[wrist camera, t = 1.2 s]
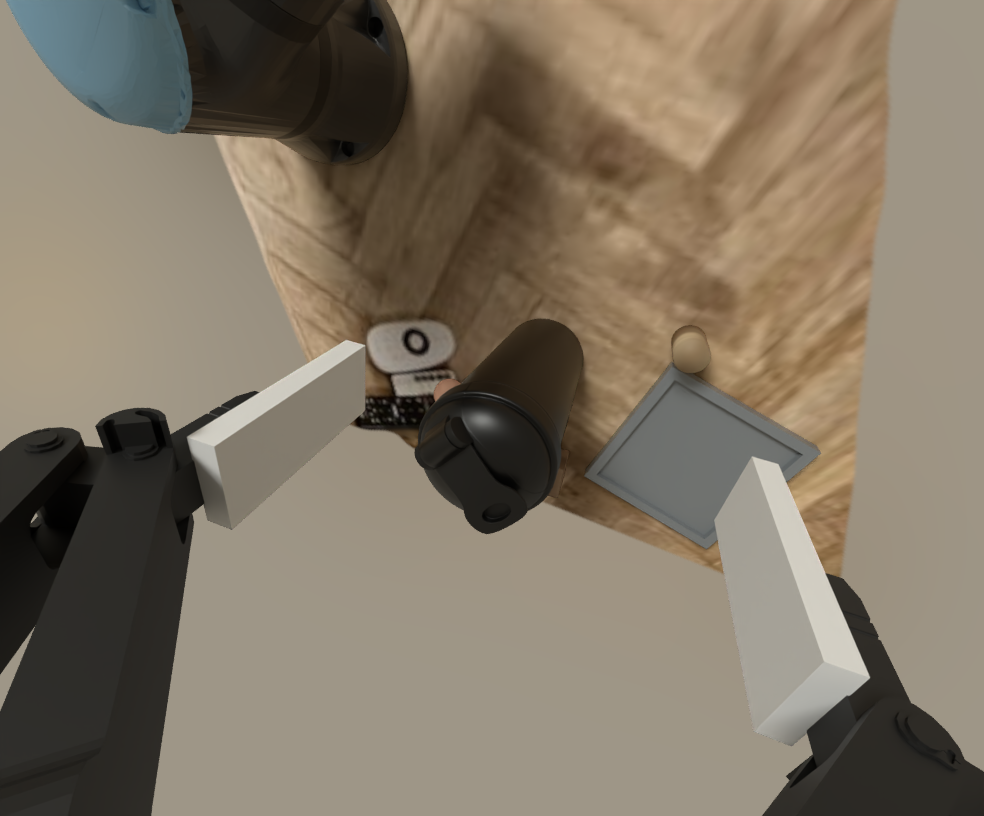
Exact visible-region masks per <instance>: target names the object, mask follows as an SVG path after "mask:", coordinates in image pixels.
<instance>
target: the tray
mask: <svg viewBox="0 0 984 816" xmlns="http://www.w3.org/2000/svg"><path fill="white" fill-rule="evenodd" d="M820 454H821V452H820V450H819V449H818V447H817V446H816V445H814V444H813V443H811V442H809V441H807V440H806V439H804V438H802V437H801V436H799V435H797V434H795V433H794V432H792V431H790V430H788V429H787V428H785V427H783V426H782V425H780V424H778V423H776V422H775V421H773V420H771V419H770V418H768V417H766V416H764V415H763V414H761V413H759V412H757V411H756V410H754V409H752V408H751V407H749V406H747V405H745V404H744V403H742V402H740V401H739V400H737V399H735V398H733V397H732V396H730V395H728V394H726V393H725V392H723V391H721V390H720V389H718V388H716V387H714V386H713V385H711V384H709V383H708V382H706V381H704V380H702V379H701V378H699V377H697V376H695V375H694V374H692V373H685V372H682V371H681V370H679V369H678V368H677V367H676V366H675V364H674V363H673V362H671V363H670V365H669V366H668V367H667V368H666V370H665V371H664V372H663V373H662V375H661V376H660V377H659V378H658V380H657V381H656V382H655V383H654V385H653V386H652V387H651V388H650V390H649V391H648V392H647V393H646V395H645V396H644V397H643V398H642V400H641V401H640V402H639V403H638V405H637V406H636V407H635V408H634V410H633V411H632V412H631V413H630V415H629V416H628V417H627V418H626V420H625V421H624V422H623V423H622V425H621V426H620V427H619V428H618V430H617V431H616V432H615V433H614V435H613V436H612V437H611V438H610V440H609V441H608V442H607V444H606V445H605V446H604V447H603V449H602V450H601V451H600V452H599V454H598V455H597V456H596V457H595V459H594V460H593V461H592V462H591V464H590V465H589V466H588V467H587V469H586V470H585V474H584V476H585V477H586V478H588V479H590V480H592V481H593V482H595V483H597V484H598V485H600V486H602V487H603V488H605V489H607V490H608V491H610V492H612V493H613V494H615V495H617V496H618V497H620V498H622V499H623V500H625V501H627V502H628V503H630V504H632V505H633V506H635V507H637V508H638V509H640V510H642V511H643V512H645V513H647V514H649V515H650V516H652V517H654V518H655V519H657V520H659V521H660V522H662V523H664V524H665V525H667V526H669V527H670V528H672V529H674V530H675V531H677V532H679V533H680V534H682V535H684V536H685V537H687V538H689V539H690V540H692V541H694V542H695V543H697V544H699V545H700V546H702V547H704V548H705V549H707V548H708V547H710V546H711V545H712V544H713V543H714V542H716V541H717V540H718V538H717V533H716V527H715V522H714V520H715V518H716V516H717V515H718V513H719V511H720V510H721V508H722V506H723V504H724V503H725V501H726V499H727V498H728V496H729V494H730V493H731V491H732V489H733V488H734V486H735V484H736V482H737V481H738V479H739V477H740V476H741V474H742V472H743V471H744V469H745V467H746V465H747V464H748V462H749V460H750V459H751V457H756V458H759V459H763V460H766V461H769V462H773V463H776V464H778V465H779V467H780V469H781V472H782V474H783V476H784V478H785V481H786V482H787V481H788V480H790V479H791V478H792V477H793V476H794V475H796V474H797V473H798V472H799V471H800V470H802V469H803V468H804V467H805V466H806V465H808V464H809V463H810V462H811V461H812V460H814V459H815V458H816V457H817V456H818V455H820Z"/></svg>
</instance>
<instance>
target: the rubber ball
mask: <svg viewBox="0 0 984 816" xmlns="http://www.w3.org/2000/svg"><path fill="white" fill-rule="evenodd" d="M460 384H461V383H460V382H458V381H457V380H454V379H445V380H442V381H441V382H439V383H438V384H437V386H436V388H435V390H434V399H435V401H437V400H438V398H439V397H440V396H441V395H443V394H444V393H445V392H446V391H448V390H449V389H451V388H453V387H455V386H457V385H460Z"/></svg>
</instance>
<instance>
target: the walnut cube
mask: <svg viewBox="0 0 984 816" xmlns="http://www.w3.org/2000/svg"><path fill="white" fill-rule="evenodd" d="M568 455H569V451H568V450H564V449H561V462H560V467H559V470H558V473H557V476H556V480H555V482H554V486H553V488H552V490H551V491H550V493H549V494H548V496H552V497H555V498H558V495H559V492H560V488H561V485H562V482H563V478H564V474H565V469H566V465H567V460H568Z"/></svg>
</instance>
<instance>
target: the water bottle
mask: <svg viewBox="0 0 984 816" xmlns="http://www.w3.org/2000/svg"><path fill="white" fill-rule="evenodd" d="M582 365H583V351H582V348H581V345H580V342H579V341H578V339H577V337H576V336H575V335H574V333H573V332H572V331H571V330H570V329H569V328H567V327H566V326H564V325H563V324H561V323H559V322H557V321H554V320H550V319H534V320H530V321H527V322H525V323H523V324H521V325H520V326H518V327H517V328H516V329H515V330H514V331H513V332H512V333H511V334H510V335H509V336H508V337H507V338H506V339H505V340H504V341H503V342H502V343H501V344H500V345H499V346H498V347H497V348H496V349H495V350H494V351H493V352H492V353H491V354H490V355H489V356H488V357H487V358H486V359H485V360H484V361H483V362H482V363H481V364H480V365H479V366H478V367H477V368H476V369H475V370H474V371H473V372H472V373H471V374H470V375H469V376H468V377H467V378H466V379H465V380H464V381H463V382H462V383H461V384H460V385H457V386H455V387H453V388H451V389H449V390H448V391H446V392H445V393H444V394H443V395H441V396H440V397H439V398H438V400H437V401H436V402H435V403H434V404H433V405H432V406H431V407H430V408H429V409H428V411H427V412H426V414H425V415H424V417H423V419H422V421H421V424H420V427H419V434H418V446H417V447H416V448H415V458H416V460H417V462H418V463H419V464H420V466H422V467H423V468H424V470H425V472H426V474H427V476H428V478H429V480H430V482H431V483H432V485H433V486H434V487H435V488H436V490H437V491H438V492H439V493H440V494H441V495H442V496H443V497H444V498H445V499H447V500H448V501H449V502H451V503H452V504H453V505H455V506H457V507H458V508H460V509H462V510H464V514H465V517H466V519H467V521H468V522H469V523H470V524H471V526H472V527H474V528H475V529H476V530H478V531H479V532H482V533H485V534H490V533H494V532H497V531H500V530H502V529H504V528H506V527H508V526H510V525H512V524H513V523H515V522H517V521H518V520H520V519H521V518H523V516H525V514H526V513H527V511H528V510H530V509H532V508H534V507H536V506H537V505H539V504H540V503H541V502H542V501H543V500H544V499H545V498H546V497H547V496H548V494H549V493H550V491H551V490H552V488H553V486H554V482H555V480H556V476H557V473H558V470H559V467H560V462H561V442H562V438H563V434H564V432H565V429H566V426H567V425H566V424H567V422H568V419H569V415H570V411H571V407H572V404H573V400H574V397H575V391H576V387H577V384H578V380H579V377H580V373H581V369H582Z"/></svg>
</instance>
